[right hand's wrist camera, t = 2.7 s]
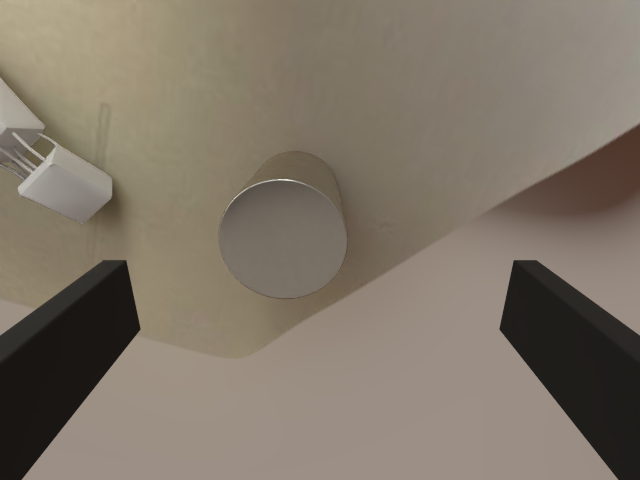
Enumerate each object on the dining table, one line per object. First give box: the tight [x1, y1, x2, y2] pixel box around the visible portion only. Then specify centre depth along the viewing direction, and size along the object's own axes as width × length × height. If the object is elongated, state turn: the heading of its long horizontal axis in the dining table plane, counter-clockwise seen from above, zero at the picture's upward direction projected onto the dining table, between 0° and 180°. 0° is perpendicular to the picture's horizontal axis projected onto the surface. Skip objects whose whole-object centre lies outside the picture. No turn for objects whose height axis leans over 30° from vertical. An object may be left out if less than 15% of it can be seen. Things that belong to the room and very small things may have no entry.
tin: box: [219, 151, 348, 299], centre depth 23 cm, size 6×6×10 cm
